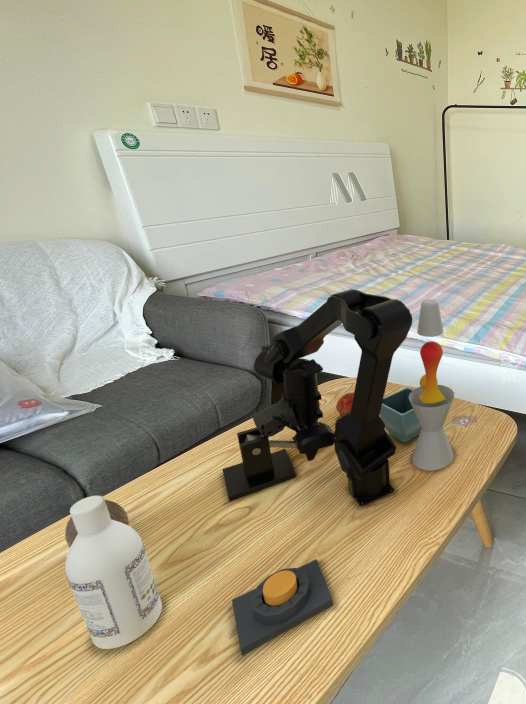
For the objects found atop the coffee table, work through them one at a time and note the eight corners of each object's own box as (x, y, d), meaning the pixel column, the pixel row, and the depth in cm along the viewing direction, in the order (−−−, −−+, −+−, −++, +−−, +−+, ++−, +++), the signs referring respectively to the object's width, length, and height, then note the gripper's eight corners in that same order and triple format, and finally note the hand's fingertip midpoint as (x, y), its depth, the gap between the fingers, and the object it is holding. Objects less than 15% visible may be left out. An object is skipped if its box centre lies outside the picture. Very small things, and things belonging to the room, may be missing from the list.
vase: (97, 569, 64) (80, 523, 61) (60, 559, 66) (42, 513, 63) (144, 532, 71) (131, 489, 68) (110, 524, 72) (95, 481, 69)
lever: (311, 447, 91) (316, 434, 91) (315, 455, 89) (321, 441, 89) (241, 446, 82) (247, 431, 82) (244, 455, 80) (249, 439, 80)
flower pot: (408, 418, 105) (407, 386, 102) (434, 432, 100) (433, 398, 97) (378, 435, 98) (375, 401, 95) (403, 451, 94) (402, 415, 91)
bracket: (286, 453, 91) (280, 415, 88) (296, 477, 84) (290, 437, 81) (223, 474, 84) (214, 433, 81) (229, 502, 78) (220, 459, 75)
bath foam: (156, 589, 62) (120, 475, 55) (169, 621, 58) (132, 502, 51) (89, 625, 57) (40, 504, 50) (98, 664, 53) (47, 538, 46)
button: (293, 574, 62) (292, 565, 62) (300, 595, 60) (298, 586, 59) (262, 589, 60) (260, 580, 59) (267, 612, 57) (265, 602, 57)
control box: (317, 565, 67) (315, 550, 66) (333, 605, 61) (331, 589, 60) (233, 606, 60) (229, 590, 59) (242, 655, 54) (238, 639, 53)
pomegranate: (336, 436, 101) (367, 418, 98) (319, 410, 100) (349, 391, 97) (355, 422, 108) (384, 404, 105) (338, 398, 107) (367, 379, 104)
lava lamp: (461, 461, 91) (462, 304, 80) (420, 476, 86) (415, 312, 75) (443, 439, 98) (442, 291, 87) (405, 451, 93) (397, 297, 82)
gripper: (245, 379, 86) (255, 446, 91) (263, 424, 73) (274, 499, 78) (306, 367, 93) (312, 429, 98) (332, 405, 80) (338, 475, 85)
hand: (308, 455), depth 90 cm, fingers closed on lever, 3 cm apart
